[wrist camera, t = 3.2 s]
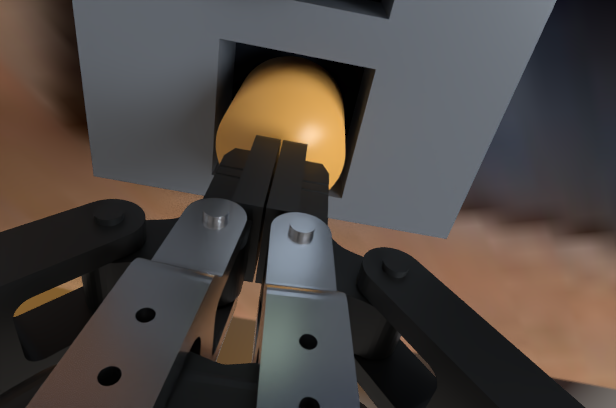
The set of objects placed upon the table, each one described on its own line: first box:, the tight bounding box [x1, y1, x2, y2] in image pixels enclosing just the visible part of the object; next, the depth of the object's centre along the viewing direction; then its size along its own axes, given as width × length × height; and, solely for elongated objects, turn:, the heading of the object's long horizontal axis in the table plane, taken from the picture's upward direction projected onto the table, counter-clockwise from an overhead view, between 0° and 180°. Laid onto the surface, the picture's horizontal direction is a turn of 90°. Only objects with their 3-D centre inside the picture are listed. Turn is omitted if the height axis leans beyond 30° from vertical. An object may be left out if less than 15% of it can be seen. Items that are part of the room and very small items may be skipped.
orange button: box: [216, 56, 345, 189], centre depth 15 cm, size 4×4×4 cm
